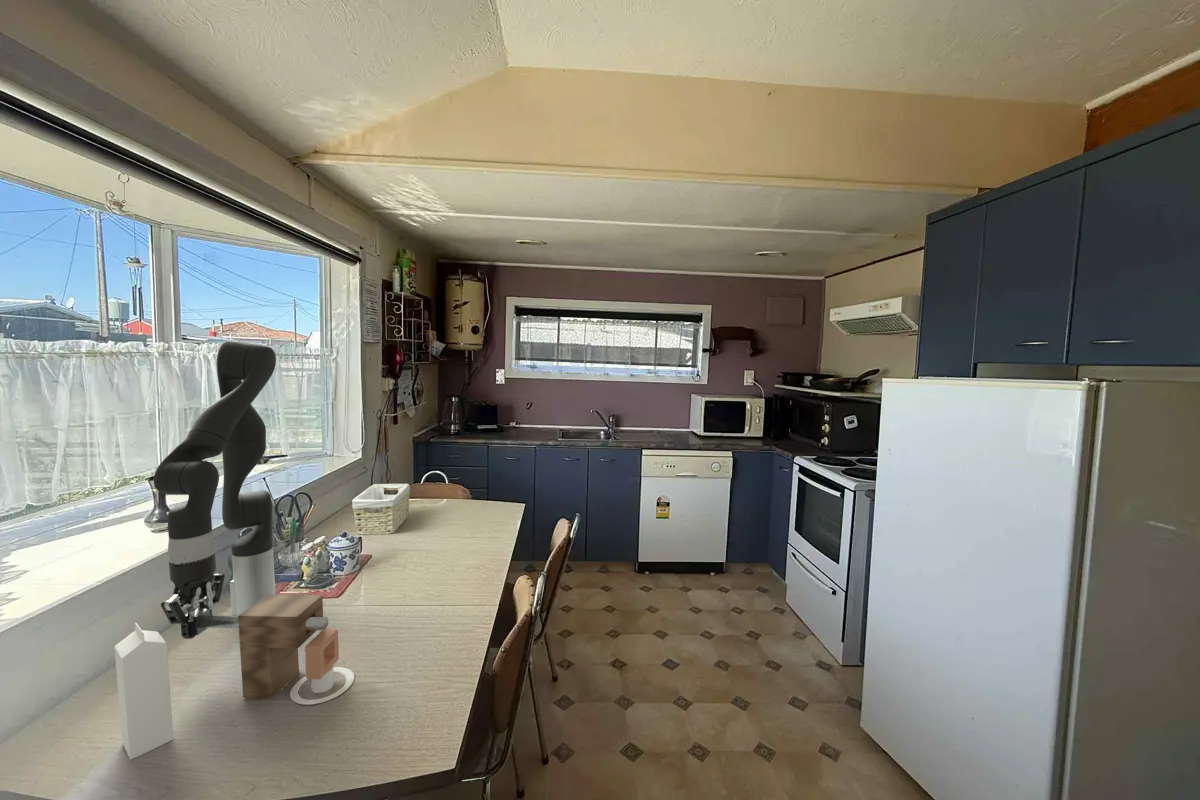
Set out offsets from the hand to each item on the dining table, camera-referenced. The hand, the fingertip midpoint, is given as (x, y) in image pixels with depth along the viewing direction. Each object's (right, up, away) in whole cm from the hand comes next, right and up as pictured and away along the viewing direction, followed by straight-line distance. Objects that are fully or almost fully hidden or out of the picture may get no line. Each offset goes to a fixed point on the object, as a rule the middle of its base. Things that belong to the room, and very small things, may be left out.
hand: (197, 631), depth 105 cm
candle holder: (+26, -13, +1) cm, 29 cm away
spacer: (+27, -8, 0) cm, 28 cm away
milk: (+3, -13, -15) cm, 20 cm away
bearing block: (+18, -12, +1) cm, 22 cm away
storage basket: (-4, -3, +99) cm, 99 cm away
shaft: (+13, 0, 0) cm, 13 cm away
